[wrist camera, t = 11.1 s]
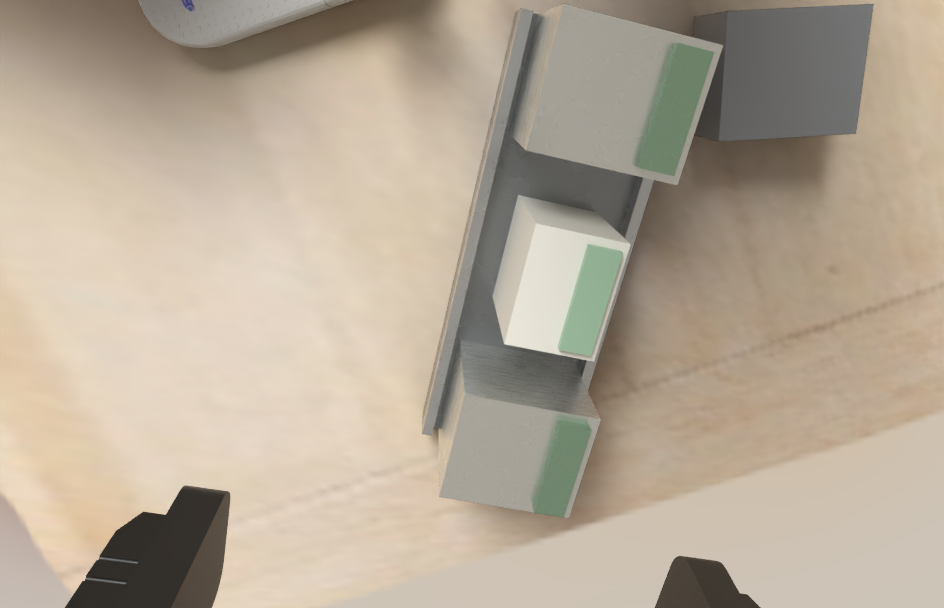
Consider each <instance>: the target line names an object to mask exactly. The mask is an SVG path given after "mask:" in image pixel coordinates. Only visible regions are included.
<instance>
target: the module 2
mask: <svg viewBox="0 0 944 608" xmlns="http://www.w3.org/2000/svg"><path fill="white" fill-rule="evenodd" d="M872 12H873V4H860V5H840V6H820V7H800V8H780V9H760V10H740V11H726V12H720V13H714V14H709V15H703V16H697V17H695V19H694V38H697V39H701V40H705V41H709V42H713V43H717V44H720V45H723V48H722V51H721V54H720V57H719V60H718V63H717V66H716V69H715V72H714V75H713V78H712V81H711V85H710V88H709V91H708V94H707V97H706V100H705V103H704V106H703V109H702V112H701V115H700V118H699V121H698V124H697V127H696V130H695V133H694V135H697V136H700V137H704V138H708V139H711V140H715V141H737V140H755V139H772V138H790V137H807V136H825V135H842V134H856V129H857V122H858V115H859V107H860V100H861V93H862V85H863V78H864V70H865V63H866V56H867V48H868V41H869V34H870V26H871V19H872Z"/></svg>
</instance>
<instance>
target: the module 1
mask: <svg viewBox="0 0 944 608" xmlns="http://www.w3.org/2000/svg"><path fill="white" fill-rule="evenodd" d="M630 245H631V244H630V243H629V242H628V241H627V240H626V239H625V238H624V237H623V236H621V235H620V234H619V233H618V232H617V231H616V230H615V229H614V228H613V227H612V226H611V225H610V224H609V223H608V222H606V221H605V220H604V219H603V218H602V217H601V216H600V215H599V214H598V213H597V212H593V211H588V210H584V209H579V208H575V207H570V206H566V205H561V204H557V203H552V202H548V201H543V200H539V199H534V198H530V197H525V196H521V195H518V197H517V201H516V205H515V209H514V213H513V217H512V221H511V225H510V229H509V233H508V237H507V241H506V245H505V249H504V253H503V257H502V261H501V265H500V269H499V273H498V277H497V281H496V285H495V289H494V292H493V296H492V297H493V301H494V305H495V309H496V313H497V317H498V321H499V325H500V329H501V334H502V338H503V342H504V344H506V345H511V346H516V347H521V348H526V349H531V350H537V351H542V352H547V353H552V354H557V355H562V356H568V357H573V358H578V359H583V360H588V361H593V362H594V360H595V357H596V353H597V350H598V347H599V344H600V341H601V337H602V334H603V331H604V328H605V325H606V321H607V318H608V315H609V312H610V309H611V305H612V302H613V299H614V296H615V293H616V289H617V286H618V283H619V280H620V277H621V274H622V270H623V267H624V264H625V261H626V258H627V254H628V251H629V248H630Z"/></svg>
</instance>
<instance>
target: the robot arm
mask: <svg viewBox="0 0 944 608" xmlns="http://www.w3.org/2000/svg"><path fill="white" fill-rule="evenodd" d="M229 506H230V493H229V492H228V491H221V490H214V489H207V488H200V487H193V486H184V487H183V488H182V489H181V490H180V492H179V493H178V495H177V497H176V499H175V500H174V502H173V504H172V505H171V507H170V509H169V511H168V512H167V514H166V515H162V514H155V513H148V512H142V513H141V514H140V515H138V516H137V517H135V518H134V519H132V520H131V521H130V522H128V523H127V524H125V525H124V526H123V527H121V528H120V529H118V530H117V531H116V532H115V533H114V535H113V536H112V538H111V539H110V541H109V542H108V544H107V545H106V547H105V548H104V550H103V551H102V553H101V554H100V557H99V560H96V562H95V563H94V565H93V566H92V568H91V569H90V571H89V572H88V574H87V575H86V579H85V581H82V583H81V584H80V586H79V587H78V589H77V590H76V592H75V593H74V595H73V596H72V598H71V600H70V601H69V602H68V604H67V606H66V607H65V608H212V606H213V603H214V600H215V597H216V594H217V591H218V587H219V583H220V579H221V575H222V569H223V563H224V553H225V544H226V535H227V525H228V516H229ZM655 608H760V607H759V606H758V605H757V604H756V603H755V602H754V601H753V600H752V599H751V598H750V597H749V596H748V595H746V594H740V593H739V591H738V590H737V588H736V586H735V585H734V583H733V581H732V579H731V577H730V576H729V574H728V572H727V570H726V568H725V567H724V565H723V564H722V563H720V562H718V561H712V560H705V559H698V558H691V557H684V556H678V557H676V558H675V559H674V561H673V562H672V564H671V567H670V570H669V572H668V574H667V577H666V580H665V582H664V585H663V588H662V590H661V593H660V596H659V598H658V601H657V604H656V606H655Z"/></svg>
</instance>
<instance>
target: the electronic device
mask: <svg viewBox="0 0 944 608" xmlns="http://www.w3.org/2000/svg"><path fill="white" fill-rule="evenodd" d="M350 1H353V0H138V2H139V4H140V6H141V8H142V10H143V12H144V15H145V16H146V18H147V19H148V21H149V22H150V24H151V25H152V26H153V27H154V28H155V29H156V30H157V31H158V32H159V33H160V34H161V35H162V36H164V37H165V38H166V39H168V40H170V41H172V42H174V43H177V44H180V45H183V46H186V47H194V48H210V47H220V46H224V45H226V44H229V43H232V42H235V41H238V40H241V39H244V38H247V37H249V36H252V35H255V34H258V33H261V32H264V31H267V30H270V29H272V28H275V27H278V26H281V25H284V24H287V23H290V22H293V21H295V20H298V19H301V18H304V17H307V16H310V15H313V14H316V13H318V12H321V11H324V10H327V9H330V8H333V7H336V6H338V5H341V4H344V3H347V2H350Z"/></svg>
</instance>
